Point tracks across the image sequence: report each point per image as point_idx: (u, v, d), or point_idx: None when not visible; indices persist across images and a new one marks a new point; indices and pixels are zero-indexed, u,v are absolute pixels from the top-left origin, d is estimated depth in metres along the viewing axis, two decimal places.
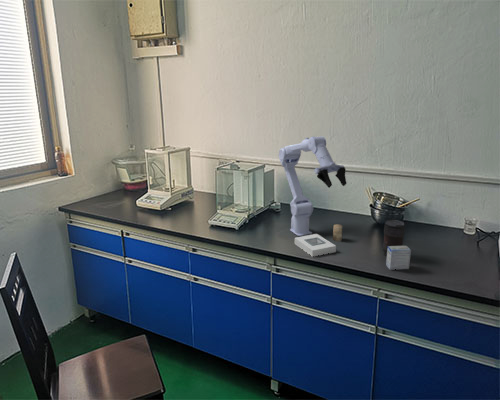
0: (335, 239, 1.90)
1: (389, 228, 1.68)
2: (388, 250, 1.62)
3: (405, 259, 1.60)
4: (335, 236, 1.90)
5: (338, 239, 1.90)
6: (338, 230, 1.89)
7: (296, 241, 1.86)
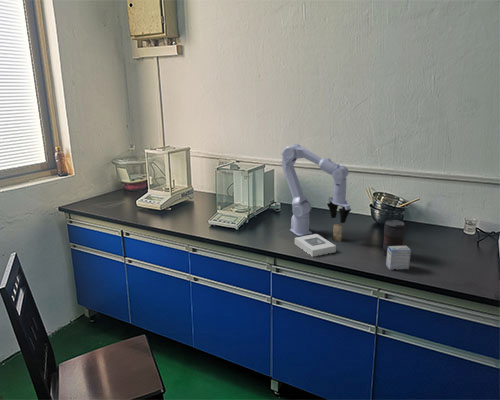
0: (335, 239, 1.90)
1: (389, 228, 1.68)
2: (388, 250, 1.62)
3: (405, 259, 1.60)
4: (335, 236, 1.90)
5: (338, 239, 1.90)
6: (338, 230, 1.89)
7: (296, 241, 1.86)
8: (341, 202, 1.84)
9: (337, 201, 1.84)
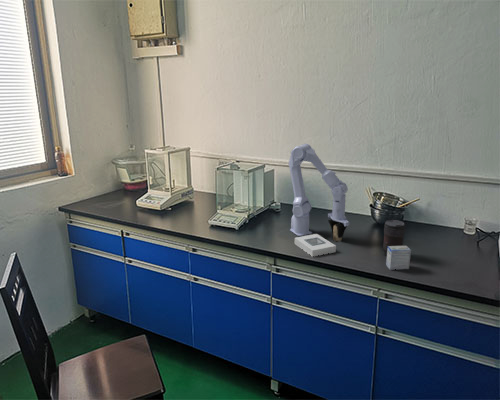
0: (335, 239, 1.90)
1: (389, 228, 1.68)
2: (388, 250, 1.62)
3: (405, 259, 1.60)
4: (335, 236, 1.90)
5: (338, 239, 1.90)
6: None
7: (296, 241, 1.86)
8: (340, 218, 1.86)
9: (336, 217, 1.86)
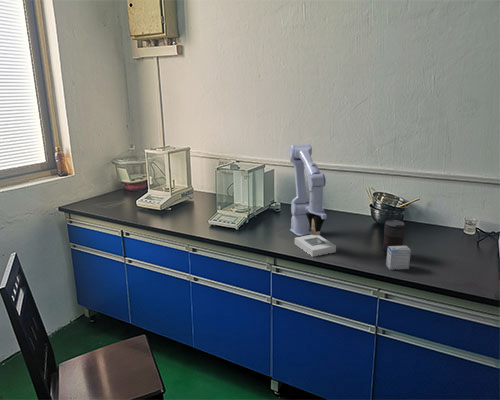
0: (313, 233, 1.80)
1: (389, 228, 1.68)
2: (388, 250, 1.62)
3: (405, 259, 1.60)
4: (313, 230, 1.79)
5: (317, 233, 1.79)
6: None
7: (296, 241, 1.86)
8: (317, 211, 1.75)
9: (313, 210, 1.75)
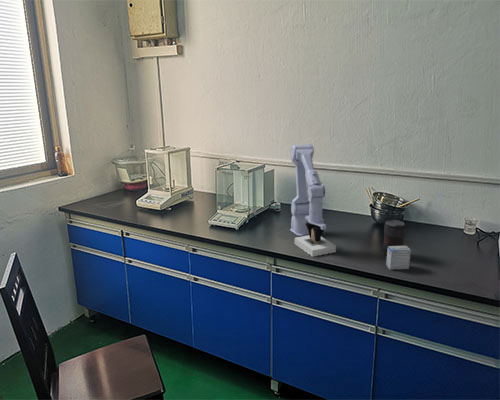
0: (313, 243, 1.81)
1: (389, 228, 1.68)
2: (388, 250, 1.62)
3: (405, 259, 1.60)
4: (313, 240, 1.81)
5: (316, 243, 1.81)
6: None
7: (296, 241, 1.86)
8: (317, 221, 1.76)
9: (313, 220, 1.77)
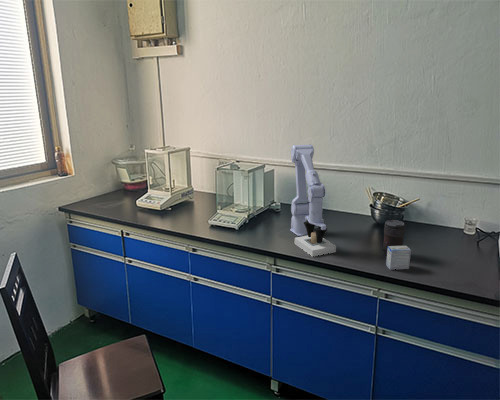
0: None
1: (389, 228, 1.68)
2: (388, 250, 1.62)
3: (405, 259, 1.60)
4: None
5: None
6: None
7: (296, 241, 1.86)
8: (317, 221, 1.76)
9: (313, 220, 1.77)
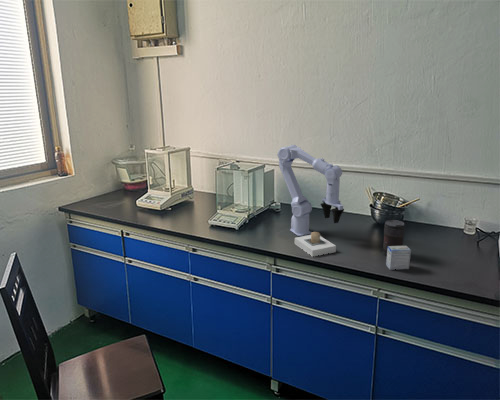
0: None
1: (389, 228, 1.68)
2: (388, 250, 1.62)
3: (405, 259, 1.60)
4: None
5: None
6: (316, 238, 1.80)
7: (296, 241, 1.86)
8: (334, 202, 1.84)
9: (330, 201, 1.84)
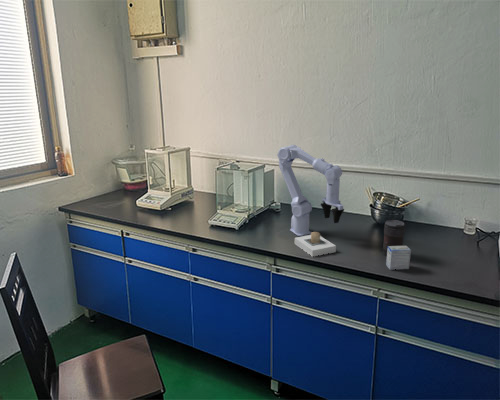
0: None
1: (389, 228, 1.68)
2: (388, 250, 1.62)
3: (405, 259, 1.60)
4: None
5: None
6: (316, 238, 1.80)
7: (296, 241, 1.86)
8: (334, 202, 1.84)
9: (330, 201, 1.84)
